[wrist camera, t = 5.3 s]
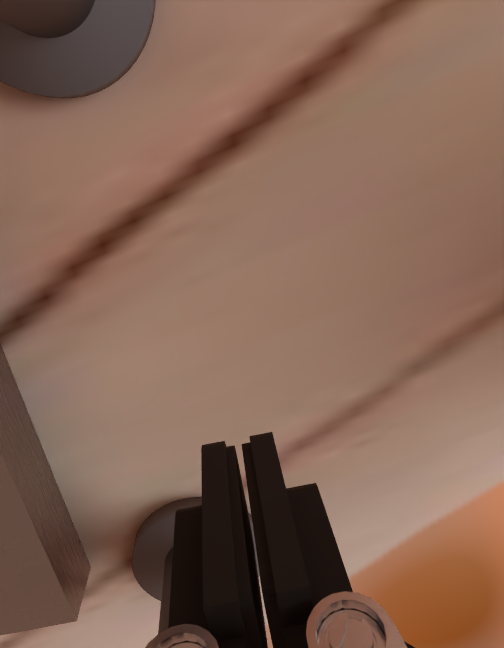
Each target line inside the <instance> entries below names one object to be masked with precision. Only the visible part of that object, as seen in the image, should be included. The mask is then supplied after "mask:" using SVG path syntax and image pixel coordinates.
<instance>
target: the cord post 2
mask: <svg viewBox="0 0 504 648" xmlns="http://www.w3.org/2000/svg"><path fill="white" fill-rule="evenodd" d="M200 505H202V497H195V498H187V499H182V500H179V501H175V502H172V503H170V504H168V505H165V506H164V507H162V508H160V509H158V510H157V511H155V512H154V513H153V514H151V515H150V516H149V517H148V518H147V519H146V520H145V522H144V523H143V524H142V526H141V527H140V529H139V531H138V533H137V536H136V540H135V545H134V551H133V557H132V568H133V573H134V575H135V578H136V580H137V581H138V583H139V584H140V586H141V587H142V588H143V589H144V590H145V591H146V592H147V593H148V594H150V595H151V596H153V597H154V598H156V599H158V600H160V601H161V610H160V621H159V631H158V634H159V633H161V632H163V631H165V630H167V629H168V624H169V607H170V591H171V574H172V558H173V542H174V525H175V514H176V511H177V510H179V509H184V508H189V507H194V506H200ZM248 515H249V520H250V525H251V530H252V536H253V542H254V549H255V556H256V564H257V571H258V577H259V575H260V573H259V566H258V559H257V552H256V544H255V537H254V530H253V523H252V515H251V514H249V513H248Z"/></svg>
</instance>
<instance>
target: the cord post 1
mask: <svg viewBox="0 0 504 648" xmlns="http://www.w3.org/2000/svg"><path fill="white" fill-rule="evenodd" d="M154 10H155V0H0V81H2V82H3V83H5V84H7V85H9V86H12V87H14V88H17V89H19V90H22V91H25V92H29V93H33V94H37V95H41V96H46V97H54V98H76V97H82V96H87V95H90V94H93V93H96V92H99V91H101V90H103V89H105V88H107V87H109V86H110V85H112V84H113V83H115V82H116V81H117V80H119V79H120V78H121V77H122V76H123V75H124V74H125V73H126V72H127V71H128V70H129V69H130V68H131V67H132V65H133V64H134V63H135V61H136V60H137V59H138V57H139V55H140V53H141V52H142V50H143V48H144V46H145V43H146V41H147V39H148V36H149V33H150V30H151V26H152V22H153V17H154Z"/></svg>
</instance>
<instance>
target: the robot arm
mask: <svg viewBox="0 0 504 648" xmlns="http://www.w3.org/2000/svg"><path fill="white" fill-rule="evenodd" d="M242 450H243V457H244V465H245V472H246V479H247V486H248V494H249V501H250V508H251V515H252V523H253V530H254V537H255V544H256V552H257V559H258V566H259V573H260V580H261V587H262V593H263V599H264V604H265V609H266V614H267V619H268V624H269V629H270V634H271V639H272V644H273V648H414V647H413V646H411V645H409V644H407V643H406V642H404V641H403V639H402V637H401V636H400V634H399V632H398V630H397V628H396V627H395V625H394V623H393V622H392V620H391V618H390V616H389V615H388V614H387V613H386V611H385V610H384V609H383V607H382V606H381V605H379V604H378V603H377V602H375V601H374V600H373V599H371V598H370V597H367V596H365V595H362V594H360V593H356V592H353V591H352V588H351V585H350V582H349V579H348V576H347V573H346V570H345V567H344V564H343V561H342V558H341V555H340V552H339V549H338V546H337V543H336V540H335V537H334V534H333V531H332V528H331V525H330V522H329V519H328V516H327V513H326V510H325V507H324V504H323V502H322V499H321V496H320V493H319V490H318V487H317V485H316V483H313V484H308V485H303V486H298V487H293V488H287V489H286V487H285V483H284V479H283V475H282V471H281V467H280V462H279V458H278V454H277V450H276V446H275V442H274V438H273V434H272V432H270V433H264V434H259V435H254V436H250V443H245V444H242ZM201 451H202V505H200V506H194V507H189V508H184V509H179V510H177V511H176V514H175V525H174V542H173V558H172V574H171V591H170V607H169V624H168V629H167V630H165V631H163V632H161V633H159V634H158V635H157V636H156V637H155V638H154V639H153V640H151V641H150V642H149V643H148V645H147V646H146V647H145V648H268V646H267V638H266V631H265V623H264V616H263V609H262V601H261V594H260V586H259V579H258V571H257V564H256V556H255V549H254V542H253V536H252V530H251V525H250V520H249V515H248V510H247V505H246V500H245V495H244V490H243V485H242V480H241V475H240V470H239V464H238V459H237V454H236V449H235V446H229V447H226V444H225V441H222V442H216V443H211V444H206V445H202V449H201Z"/></svg>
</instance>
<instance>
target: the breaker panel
mask: <svg viewBox="0 0 504 648" xmlns="http://www.w3.org/2000/svg"><path fill="white" fill-rule="evenodd" d="M90 568H91V567H90V565H89V562H88V560H87V557H86V555H85V553H84V550H83V548H82V545H81V543H80V540H79V538H78V535H77V533H76V530H75V528H74V525H73V523H72V520H71V518H70V515H69V513H68V511H67V508H66V506H65V503H64V501H63V498H62V496H61V493H60V491H59V488H58V486H57V483H56V481H55V478H54V476H53V473H52V471H51V469H50V466H49V464H48V461H47V459H46V456H45V454H44V451H43V449H42V446H41V444H40V441H39V439H38V436H37V434H36V431H35V429H34V427H33V424H32V422H31V419H30V417H29V414H28V412H27V409H26V407H25V404H24V402H23V399H22V397H21V394H20V392H19V389H18V387H17V385H16V382H15V380H14V377H13V375H12V372H11V370H10V367H9V365H8V362H7V360H6V357H5V355H4V352H3V350H2V347H1V345H0V635H5V634H10V633H15V632H21V631H26V630H31V629H37V628H42V627H47V626H53V625H58V624H63V623H68V622H74V621H77V617H78V614H79V610H80V606H81V602H82V598H83V594H84V591H85V587H86V583H87V579H88V575H89V572H90Z"/></svg>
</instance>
